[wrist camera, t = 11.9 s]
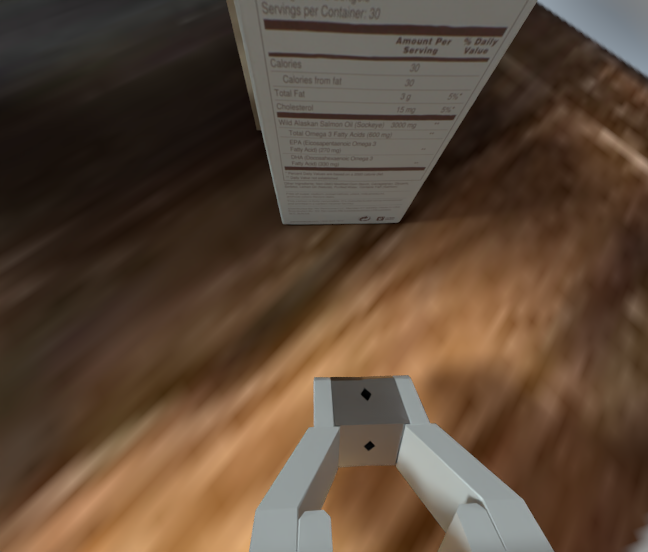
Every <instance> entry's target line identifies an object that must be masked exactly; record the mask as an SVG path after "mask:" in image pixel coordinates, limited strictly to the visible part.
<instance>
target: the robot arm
mask: <svg viewBox="0 0 648 552" xmlns="http://www.w3.org/2000/svg"><path fill="white" fill-rule="evenodd" d="M365 465H396V468H397V469H398V470H399V472H400V473H401V474H402V476H403V477H404V478H405V480H406V481H407V482H408V484H409V485H410V486H411V488H412V489H413V490H414V492H415V493H416V494H417V496H418V497H419V498H420V500H421V501H422V502H423V504H424V505H425V506H426V507H427V509H428V510H429V511H430V513H431V514H432V515H433V517H434V518H435V519H436V521H437V522H438V523H439V525H440V526H441V527H442V529H443V530H444V531H445V533H446V534H445V536H444V539H443V541H442V543H441V545H440V547H439V550H438V552H554V550H553V549H552V547H551V545H550V544H549V542H548V540H547V539H546V537H545V535H544V534H543V532H542V530H541V528H540V527H539V525H538V523H537V522H536V520H535V518H534V517H533V515H532V513H531V512H530V510H529V508H528V507H527V505H526V503H525V502H524V500H523V499H522V498H521V497H520V496H519V495H517V494H516V493H515V492H514V491H513V490H512V489H511V488H509V487H508V486H507V485H506V484H505V483H504V482H502V481H501V480H500V479H499V478H498V477H497V476H496V475H494V474H493V473H492V472H491V471H490V470H489V469H487V468H486V467H485V466H484V465H483V464H482V463H481V462H479V461H478V460H477V459H476V458H475V457H474V456H472V455H471V454H470V453H469V452H468V451H467V450H466V449H464V448H463V447H462V446H461V445H460V444H459V443H457V442H456V441H455V440H454V439H453V438H452V437H451V436H449V435H448V434H447V433H446V432H445V431H444V430H442V429H441V428H440V427H439V426H438V425H437V424H436V423H430V421H429V419H428V417H427V414H426V412H425V410H424V407H423V405H422V403H421V401H420V398H419V396H418V394H417V391H416V389H415V387H414V384H413V382H412V380H411V378H410V377H409V376H408V375H403V376H369V377H314V427H309V428H308V430H307V431H306V433H305V434H304V436H303V438H302V439H301V441H300V442H299V444H298V445H297V447H296V448H295V450H294V452H293V453H292V455H291V456H290V458H289V459H288V461H287V463H286V464H285V466H284V467H283V469H282V470H281V472H280V473H279V475H278V477H277V478H276V480H275V481H274V483H273V484H272V486H271V488H270V489H269V491H268V492H267V494H266V495H265V497H264V498H263V500H262V502H261V503H260V505H259V506H258V508H257V509H256V511H255V518H254V524H253V531H252V537H251V543H250V550H249V552H333V548H332V532H331V517H330V516H329V515H328V514H327V513H326V512H325V511H324V510H321V509H322V506H323V504H324V501H325V499H326V497H327V494H328V492H329V489H330V487H331V485H332V482H333V480H334V478H335V475H336V473H337V470H338V467H351V466H365Z"/></svg>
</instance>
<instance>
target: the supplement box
mask: <svg viewBox="0 0 648 552" xmlns="http://www.w3.org/2000/svg"><path fill="white" fill-rule="evenodd" d="M536 2H537V0H234V4H235V8H236V13H237V18H238V22H239V27H240V31H241V35H242V40H243V45H244V50H245V55H246V60H247V64H248V69H249V74H250V79H251V83H252V88H253V93H254V98H255V102H256V107H257V112H258V117H259V121H260V126H261V130H262V135H263V139H264V144H265V148H266V153H267V157H268V162H269V166H270V171H271V175H272V179H273V184H274V188H275V193H276V197H277V201H278V206H279V210H280V214H281V219H282V223H283V224H369V223H397V222H400V220H401V219H402V217H403V215H404V214H405V212H406V211H407V209H408V207H409V206H410V204H411V203H412V201H413V200H414V198H415V196H416V194H417V193H418V191H419V190H420V188H421V186H422V185H423V183H424V181H425V180H426V178H427V177H428V175H429V174H430V172H431V170H432V169H433V167H434V166H435V164H436V162H437V161H438V159H439V157H440V156H441V154H442V153H443V151H444V149H445V148H446V146H447V145H448V143H449V141H450V140H451V138H452V137H453V135H454V134H455V132H456V130H457V129H458V127H459V125H460V124H461V122H462V121H463V119H464V117H465V116H466V114H467V113H468V111H469V109H470V108H471V106H472V105H473V103H474V102H475V100H476V98H477V97H478V95H479V93H480V92H481V90H482V88H483V87H484V85H485V84H486V82H487V80H488V79H489V77H490V76H491V74H492V72H493V71H494V69H495V68H496V66H497V64H498V63H499V61H500V60H501V58H502V56H503V55H504V53H505V52H506V50H507V48H508V47H509V45H510V43H511V42H512V40H513V39H514V37H515V35H516V34H517V32H518V31H519V29H520V27H521V26H522V24H523V23H524V21H525V19H526V18H527V16H528V15H529V13H530V11H531V10H532V8H533V7H534V5H535V3H536Z"/></svg>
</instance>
